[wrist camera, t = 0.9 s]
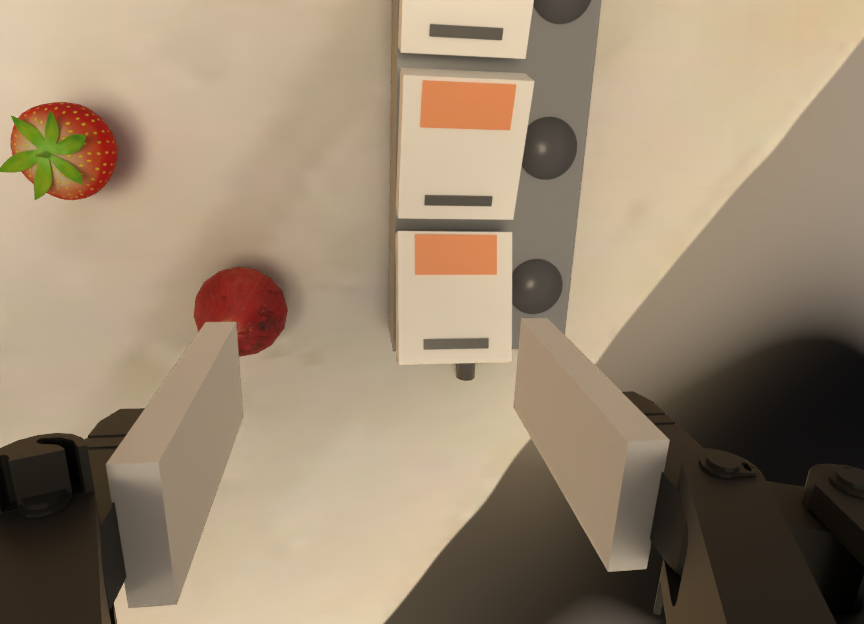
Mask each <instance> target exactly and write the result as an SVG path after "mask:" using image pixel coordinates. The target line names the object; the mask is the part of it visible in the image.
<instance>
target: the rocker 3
mask: <svg viewBox="0 0 864 624" xmlns="http://www.w3.org/2000/svg"><path fill="white" fill-rule="evenodd" d="M395 254H396V361H397V363H398V364H399V365H411V364H454V363H498V362H512V232H446V231H398V232H397V233H396V234H395Z"/></svg>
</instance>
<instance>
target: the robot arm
mask: <svg viewBox="0 0 864 624" xmlns="http://www.w3.org/2000/svg"><path fill="white" fill-rule="evenodd" d="M514 409H515V411H516V412H517V414H518V416H519V418H520V419H521V421H522V423H523V425H524V426H525V428H526V430H527V431H528V433H529V435H530V437H531V438H532V440H533V442H534V444H535V445H536V447H537V449H538V451H539V452H540V454H541V456H542V458H543V459H544V461H545V463H546V465H547V466H548V468H549V470H550V472H551V473H552V475H553V477H554V479H555V480H556V482H557V484H558V485H559V487H560V489H561V491H562V492H563V494H564V496H565V498H566V499H567V501H568V503H569V505H570V506H571V508H572V510H573V512H574V513H575V515H576V517H577V519H578V520H579V522H580V524H581V525H582V527H583V529H584V531H585V532H586V534H587V536H588V537H589V539H590V541H591V543H592V545H593V546H594V548H595V550H596V552H597V553H598V555H599V557H600V559H601V560H602V562H603V564H604V566H605V567H606V569H607V571H608V572H611V571H623V570H624V571H625V570H638V569H646V568H647V563H648V558H649V552H650V546H651V541H652V543H653V544H654V545H655V547H656V548H657V550H658V551H659V553H660V554H661V555H662V557H663V558H664V560H663V565H662V571H661V576H660V581H659V586H658V592H657V597H656V602H655V609H654V614H658V615H660V613H661V607H662V606H663V605H664V609H665V616H666V623H667V624H864V470H861V469H858V468H852V467H851V466H847V465H834V464H821V465H816V466H814V467H812V468H810V470H809V473H808V477H807V481H806V485H805V487H801V486H794V485H787V484H779V483H773V482H767V481H766V480H765V478H764V476H763V474H762V473H761V472H760V471H759V469H758V468H757V467H756V466H755V465H753V464H752V463H750V462H749V461H747V460H745V459H744V458H741V457H739V456H737V455H734V454H731V453H729V452H724V451H720V450H716V449H703V448H702V447H701V446H700V445H699V444H698V443H697V442H696V441H695V440H694V439H692V438H691V437H690V436H689V435H688V434H687V433H686V432H685V431H684V430H683V429H682V428H681V427H679V426H678V425H675V422H674V421H673V420H672V419H671V418H670V417H669V416H668V415H665V413H664V412H663V411H662V410H661V409H660V408H659V407H658V406H657V405H656V404H655V403H654V402H653V401H651V400H648V399H647V398H645V397H643V396H641V395H639V394H637V393H635V392H621V391H620V390H619V389H618V388H617V387H616V386H615V385H614V384H613V383H612V382H611V381H610V380H609V379H608V378H607V377H606V376H605V375H604V374H603V373H602V372H601V371H600V370H599V369H598V368H597V367H596V366H595V365H594V364H593V363H592V362H591V361H590V360H589V359H588V358H587V357H586V356H585V355H584V354H583V353H582V352H581V351H580V350H579V349H578V348H577V347H576V346H575V345H574V344H573V343H572V342H571V341H570V340H569V339H568V338H567V337H566V336H565V335H564V334H563V333H562V332H561V331H560V330H559V329H558V328H557V327H556V326H555V325H554V324H553V323H552V322H551V321H550V320H549V319H548V318H521V326H520V337H519V349H518V361H517V373H516V384H515V396H514ZM242 418H243V406H242V393H241V379H240V366H239V352H238V339H237V325H236V322H205V324H204V325H203V327H202V328H201V329H200V331H199V332H198V334H197V335H196V337H195V338H194V339H193V341H192V342H191V344H190V345H189V347H188V348H187V349H186V351H185V352H184V354H183V355H182V357H181V358H180V359H179V361H178V362H177V364H176V365H175V366H174V368H173V369H172V371H171V372H170V374H169V375H168V376H167V378H166V379H165V381H164V382H163V384H162V385H161V386H160V388H159V389H158V391H157V392H156V393H155V395H154V396H153V398H152V399H151V401H150V402H149V403H148V405H147V406H146V408H141V409H120V410H118V411H116V412H115V413H113V414H111V415H110V416H108V417H106V418H105V419H103V420H101V421H100V422H99V423H98V424H97V425H96V427H95V428H94V429H93V430H92V431H91V433H90V434H89V435H88V438H86V439H85V440H84V439H83V438H81V437H79V436H76V435H73V434H63V433H53V434H44V435H37V436H33V437H29V438H26V439H22V440H18V441H16V442H13V443H11V444H9V445H6V446H4V447H2V448H0V624H117V620H116V614H115V608H114V601H115V599H116V597H117V595H118V593H119V591H120V589H121V587H122V585H123V583H125V589H126V595H127V601H128V608H136V607H149V606H162V605H175V604H177V602H178V599H179V597H180V594H181V591H182V588H183V585H184V582H185V580H186V577H187V574H188V571H189V568H190V566H191V563H192V560H193V557H194V554H195V551H196V549H197V546H198V543H199V540H200V537H201V534H202V532H203V529H204V526H205V523H206V520H207V517H208V515H209V512H210V509H211V506H212V503H213V500H214V498H215V495H216V492H217V489H218V486H219V483H220V481H221V478H222V475H223V472H224V469H225V467H226V464H227V461H228V458H229V455H230V452H231V450H232V447H233V444H234V441H235V438H236V435H237V433H238V430H239V427H240V424H241V421H242Z"/></svg>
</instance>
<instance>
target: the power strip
mask: <svg viewBox="0 0 864 624" xmlns="http://www.w3.org/2000/svg"><path fill="white" fill-rule="evenodd" d="M600 8H601V0H534V3H533V10H532V17H531V24H530V31H529V38H528V45H527V52H526V59H517V58H497V57H477V56H458V55H438V54H418V53H401V52H400V50H399V48H398V29H399V0H392V47H391V141H390V236H389V332H390V337H391V342H392V347H393V351H396V254H395V234H396V233H397V232H398V231H446V232H512V349H519V337H520V326H521V318H548V319H549V320H550V321H551V322H552V323H553V324H554V325H555V326H556V327H557V328H558V329H559V330H560V331H561V332H562V333H563V334H564V335H565V327H566V318H567V309H568V300H569V290H570V281H571V272H572V263H573V254H574V245H575V236H576V227H577V218H578V209H579V199H580V190H581V181H582V172H583V163H584V154H585V145H586V136H587V127H588V118H589V108H590V99H591V90H592V81H593V72H594V63H595V54H596V45H597V36H598V26H599V17H600ZM401 67H403V68H424V69H445V70H466V71H487V72H508V73H525V74H527V75H528V76H529V77H530V78H531V79H533V80H534V81H535V82H534V88H533V95H532V101H531V108H530V114H529V121H528V127H527V134H526V140H525V147H524V153H523V160H522V166H521V173H520V179H519V186H518V192H517V199H516V205H515V212H514V218H513V220H494V219H408V218H398V215H397V209H396V184H397V156H398V127H399V99H400V71H401ZM474 374H475V363H457V375H456V377H457V378H458V379H460V380H465V381H468V380H472V379H474Z"/></svg>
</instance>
